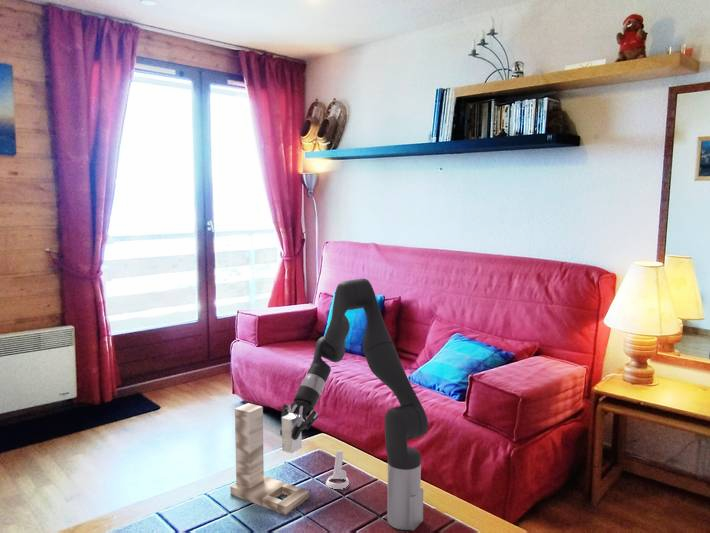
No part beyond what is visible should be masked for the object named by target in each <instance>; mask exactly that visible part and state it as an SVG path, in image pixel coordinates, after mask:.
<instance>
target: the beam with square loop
mask: <svg viewBox="0 0 710 533" xmlns="http://www.w3.org/2000/svg"><path fill="white" fill-rule="evenodd" d="M263 411H264V407H263V406H261V405H257V404H254V403H249V402H247V403H245V404H243V405H240V406H238V407H235V408H234V428H235V429H234V431H235V432H234V434H235V441H234V442H235V479H236V480H235V484H233V485H231V486H229V487H230V495H232V496H234V497H237V498H239V499H242V500H244V501H247V502H250V503H252V504H255V505H258V506H260V507H263V508H265V509H269V510H271V511H273V512H276V513H279V514H281V515H284V516H287V515H288V514H290V513H291V512H293V511H294V510H295V509H296V507H297V506H298V507H299V505H300V504H301V503H302V504H304V503H305V502H306V501H305V500H307V499H308V498H309V499H310V490H307V489H304V488H302V487H298V486H297V485H296V486H295V485H293V484H291V483H287V482H284V481H281V480H278V479H275V478H273V477H269V476H266V475H265V474H264V470H265V468H264V463H265V462H264V412H263ZM283 494H284V496H286V495H287V496H286V497H285V498H283V499H280V498H278V497H280V496H281V495H283ZM279 495H280V496H279ZM309 499H308V500H309ZM308 500H307V501H308ZM304 501H305V502H304ZM303 502H304V503H303ZM302 504H301V505H302ZM301 505H300V506H301ZM298 507H297V508H298ZM293 509H294V510H293ZM289 512H290V513H289Z"/></svg>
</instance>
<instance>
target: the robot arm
mask: <svg viewBox="0 0 710 533" xmlns="http://www.w3.org/2000/svg"><path fill="white" fill-rule="evenodd" d="M332 305H333V306H332V310H331V317H330V320H329V321H330V322H329V325H328V327H327V329H326V332H325V335H324V336H321V337H320V338H318V339H317V341H316V343H315V347H314V354H313V359H312V362H311V365H310V367H309V369H308V371H307V373H306V375H305V376H304V378H303V379H302V382H301V383H300V386H299V388H298V390H297V391H296V394H295V396H294V400H293V401H292V403H291V404H289V405H287V404H286V403H284V404H283V405H282V410H281V414H280V415H281V416H280V421H281V422H282V417H284V416H286V415H288V414H290V413H291V414H293V413H295V414H299V415H300V417H299V421H298V424H297V427H296V428H295V430H294V432H293V434H292V436H291V438H292V439H293V440H296V439H297V438H298V437H299V435H300V433H301V434H302V431H303V430H308V429H310V427H312V425H313V424H314V423H315V421H316V420H317V419H318V418H319V414H318V412H317V411H315V410H314V408H315V407H316V405H317V403H318V401H319V399H320V397H321V395H322V392H323V391H324V388H325V386H326V385H325V384H326V382H327V380H328V378H329V376H330V374H331V371H332V369H331V366H330V365H329V364H328V363H327V362H325V361H324V360H323V358H324V359H326V360H328V361H330V362H331V363H339V362H341V361H342V360H343V358H344V356H345V352H346V339H347V337H348V334H350V333H349V332H350V328H351V326H350V320H349V319H348V317H347V316H346V313H347V312H348V311H354V310H358V309H363V310H364V312H365V316H366V328H365V329H366V330H365V333H364V337H363V340H362V341H363V343H362V351H363V355H364V357H365V360H366V362H367V365H368V368H369V369H370V371H371V373H372V374H373V375H374V376H375V377H376V378H378V380H380V381H381V382H382V383H383V384H384V385H385V386H387V388H389V389H390V390H391V392H392V393H393V394H394V396H395V397H396V399H397V401H398V403H399V406H394V407H391V408H390V409H388V410H387V412H386V414H385V417H384V438H385V451H386V457H387V501H386V502H387V505H386V506H387V507H386V508H387V510H386V511H387V512H386V513H387V514H386V516H387V523H388V525H389V526H391V527H392V528H393V529H396V530H403V531H415V530H416V529H417V528H418V527H419V526H420V525H421V524H422V522H423V521H424V488H421V487H422V486H421V484H422V483H421V472H422V467H421V466H422V455H421V452H420V451H419V450H418V449H416V448H414V447H411V446H408V441H409V440H412V439H417V438H419V437H423V436H424V435H426V434H427V432H428V431H429V430H428V428H429V421H428V417H427V414H426V412H425V409H424V407H423V405H422V403H421V401H420V399H419V396H418V395H417V394H416V391H415V390H414V388H413V387H412V384H411V383H410V380H409V377H408V375H407V373H406V371H405V369H404V366H403V365H402V361H401V359H400V356H399V354H398V352H397V348H396V346H395V344H394V341H393V340H392V338H391V335H390V333H389V331H388V328H387V326H386V323H385V321H384V318H383V315H382V312H381V309H380V306H379V303H378V299H377V296H376V293H375V291H374V288H373V285H372V283H371V282H370V281H369V280H368V279H367V278H356V279H355V278H354V279H350V280H344V281H341V282H340V283H338V285H337V287H336V289H335V293H334V298H333V304H332ZM279 433H280V436H281V437H282V428H280V431H279Z"/></svg>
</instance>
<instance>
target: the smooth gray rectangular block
mask: <svg viewBox="0 0 710 533" xmlns="http://www.w3.org/2000/svg"><path fill="white" fill-rule="evenodd" d="M299 417H300V415H299V414H295V413H293V414H291V413H290V414H288V415H286V416H284V417H282V421H281V429H282V436H281V448H282V449H281V451H282V452H285V453H289V454H293V453H296V452H297V451H299V450H300V449H302V447H303V446H302V443H303V439H302V432H301V433H300V435H299V437H298V438H297V439H296V440H293V439H292V438H291V436H292V434H293V432H294V430H295V428H296V427H297V424H298V421H299Z"/></svg>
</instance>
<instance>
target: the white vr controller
mask: <svg viewBox="0 0 710 533" xmlns="http://www.w3.org/2000/svg"><path fill="white" fill-rule="evenodd" d="M343 457H344V451H343V450H339V449H338V450H336V452H335V460H334V468H333V472H332V475H330V476H329V477H328V478H327V480H326V481H325V486H326V485H327V486H328V487H330V488H333V489H341V490H344V489H343V488H345V489H347V488H348V487H349V486H350V485H349V483H350V480H349V478H348V476H347V471H346V470H344V469H342V468H343V466H342V465H343ZM331 479H333V480H343V479H344V482H341V483H336V482H335V483H334V482H332V480H331ZM329 480H330V481H329ZM348 485H349V486H348ZM327 486H326V487H327ZM347 486H348V487H347ZM328 487H327V488H328ZM346 487H347V488H346ZM330 488H329V489H330ZM333 489H332V490H333Z"/></svg>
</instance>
